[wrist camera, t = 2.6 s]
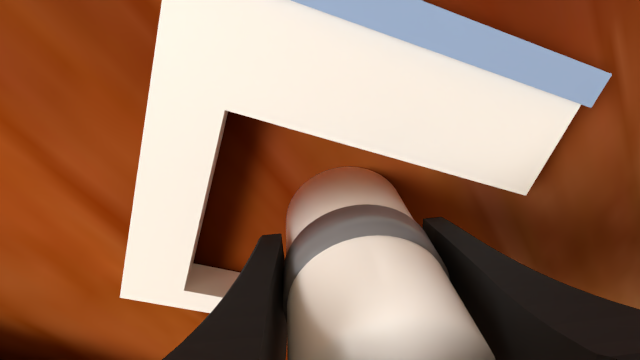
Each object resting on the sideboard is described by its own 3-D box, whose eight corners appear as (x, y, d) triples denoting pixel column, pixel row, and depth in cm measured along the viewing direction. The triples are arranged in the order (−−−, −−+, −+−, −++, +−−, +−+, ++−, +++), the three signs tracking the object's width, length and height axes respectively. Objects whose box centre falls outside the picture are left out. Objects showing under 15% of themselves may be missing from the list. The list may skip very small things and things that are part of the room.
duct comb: (732, -229, 9) (852, -290, 7) (419, 322, 17) (437, 365, 15) (240, -552, 7) (222, -777, 5) (124, 267, 14) (98, 310, 12)
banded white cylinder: (425, 182, 14) (545, 335, 7) (378, 279, 16) (443, 470, 9) (304, 148, 13) (324, 293, 6) (269, 256, 15) (258, 452, 8)
